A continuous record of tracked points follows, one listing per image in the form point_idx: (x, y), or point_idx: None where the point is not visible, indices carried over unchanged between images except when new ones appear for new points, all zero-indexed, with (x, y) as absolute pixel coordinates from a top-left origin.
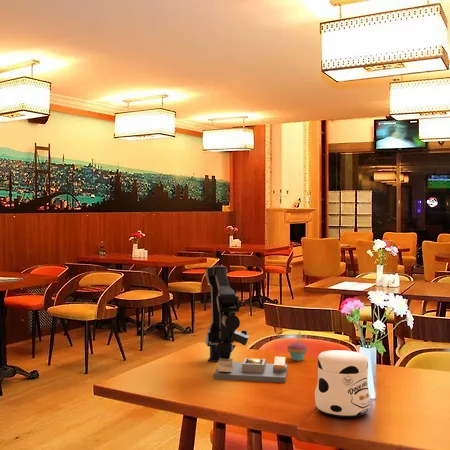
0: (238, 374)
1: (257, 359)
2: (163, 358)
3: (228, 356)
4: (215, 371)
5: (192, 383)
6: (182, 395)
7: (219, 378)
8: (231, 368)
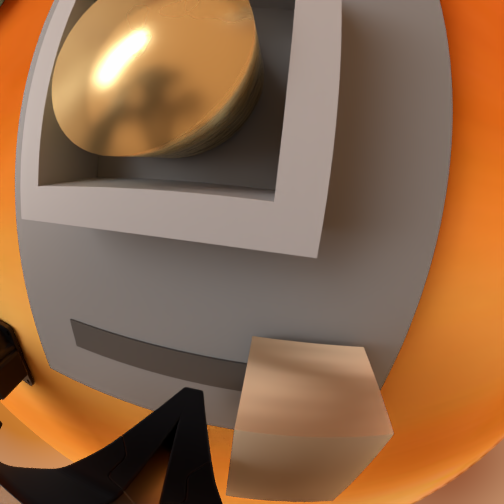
0: (408, 268)
1: (100, 15)
2: None
3: (213, 479)
4: None
5: (388, 457)
6: (490, 434)
7: None
8: (343, 364)
